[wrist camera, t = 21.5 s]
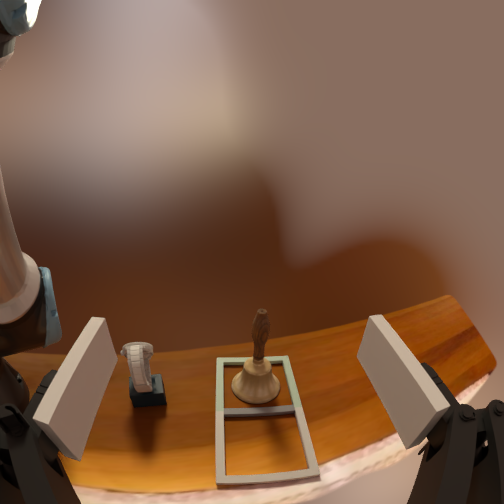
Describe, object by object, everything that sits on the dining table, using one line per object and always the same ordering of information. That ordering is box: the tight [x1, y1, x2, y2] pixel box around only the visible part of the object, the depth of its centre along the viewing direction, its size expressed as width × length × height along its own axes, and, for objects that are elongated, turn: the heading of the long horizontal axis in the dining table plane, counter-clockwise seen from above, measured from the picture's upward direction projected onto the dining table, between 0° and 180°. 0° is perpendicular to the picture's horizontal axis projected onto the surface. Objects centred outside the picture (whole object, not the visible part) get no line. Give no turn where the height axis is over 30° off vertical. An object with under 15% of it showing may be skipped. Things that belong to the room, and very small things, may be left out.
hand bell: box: [232, 309, 280, 404], centre depth 40 cm, size 8×8×16 cm
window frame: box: [216, 356, 320, 485], centre depth 37 cm, size 13×26×1 cm, turn 5°
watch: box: [121, 342, 167, 407], centre depth 37 cm, size 6×8×11 cm
